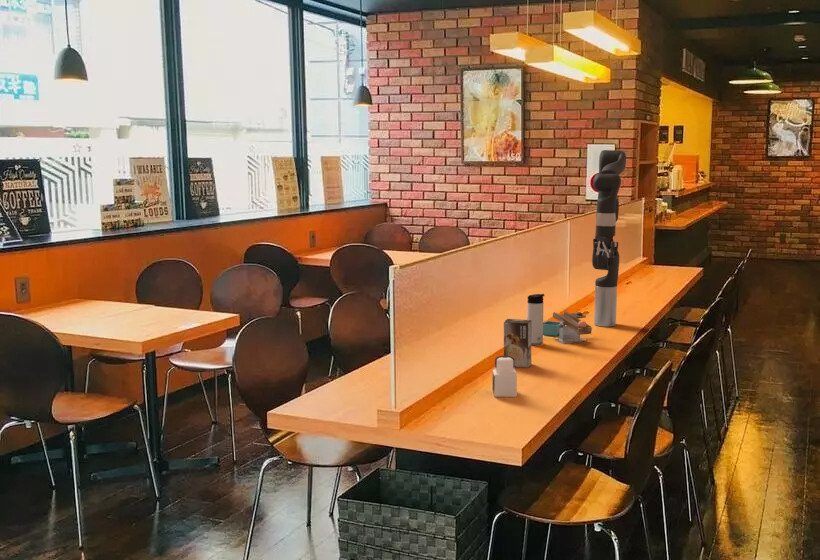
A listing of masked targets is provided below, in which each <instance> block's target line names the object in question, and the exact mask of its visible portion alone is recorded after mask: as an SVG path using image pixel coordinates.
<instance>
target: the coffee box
mask: <svg viewBox="0 0 820 560" xmlns="http://www.w3.org/2000/svg"><path fill="white" fill-rule="evenodd" d="M503 356H511V357H513V358H514V368H515V367H516V368H517V367H518V368H529V367H530V366H531V365H532V345H531V320H527V319H518V318H507V319H505V320H504V321H503Z"/></svg>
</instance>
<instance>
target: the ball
mask: <svg viewBox="0 0 820 560" xmlns="http://www.w3.org/2000/svg"><path fill="white" fill-rule="evenodd" d="M586 324H587V322H586V321H585V320H581V321H580V322H579V323H578V326H579V327H580V328H583V327H586Z"/></svg>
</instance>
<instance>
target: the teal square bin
mask: <svg viewBox="0 0 820 560" xmlns="http://www.w3.org/2000/svg"><path fill="white" fill-rule="evenodd" d="M559 324H560V321H556V320H555V321H554V320H553V321H552V320H546V321H543V336H545V337H555V338H557V337H559V335H560V328H559Z"/></svg>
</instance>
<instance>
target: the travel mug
mask: <svg viewBox="0 0 820 560" xmlns="http://www.w3.org/2000/svg"><path fill="white" fill-rule="evenodd" d="M544 297H545V294H544V293H537V294H535V293H534V294H529V295H528V296H527V302H526V303H527V304H526V307H527V310H526V320H531V347H536V346H542V345H543V343H544V335H543V322H544Z"/></svg>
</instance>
